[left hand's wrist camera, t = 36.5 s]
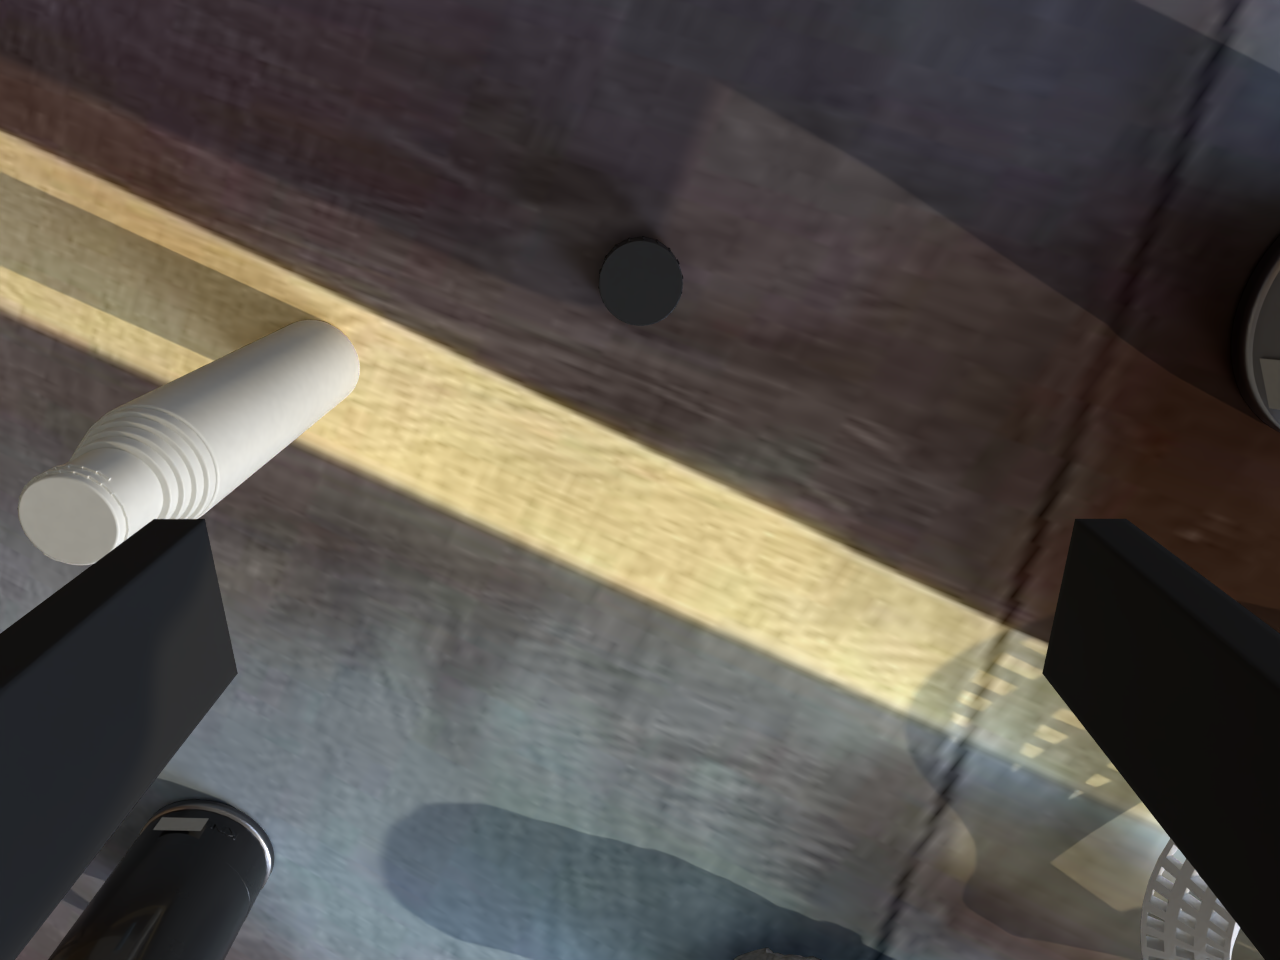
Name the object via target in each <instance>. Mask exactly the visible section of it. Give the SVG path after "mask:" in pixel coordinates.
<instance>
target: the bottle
mask: <svg viewBox="0 0 1280 960" xmlns="http://www.w3.org/2000/svg"><path fill="white" fill-rule="evenodd" d="M359 374H360V364H359V358H358V355H357V352H356V350H355V348H354V346H353V344H352V343H351V341H350V340H349V339H348V337H347V336H346V335H345V334H344V333H343V332H341V331H340V330H339V329H337V328H336V327H334V326H332V325H330V324H328V323H326V322H322V321H318V320H301V321H297V322H295V323H292V324H290V325H288V326H286V327H284V328H282V329H280V330H278V331H275V332H273V333H271V334H269V335H267V336H265V337H263V338H261V339H259V340H257V341H255V342H253V343H251V344H248V345H246V346H244V347H242V348H240V349H238V350H236V351H234V352H232V353H230V354H228V355H226V356H224V357H222V358H219V359H217V360H215V361H213V362H211V363H209V364H207V365H205V366H203V367H201V368H199V369H197V370H195V371H192V372H190V373H188V374H186V375H184V376H182V377H180V378H178V379H176V380H174V381H172V382H170V383H168V384H166V385H163V386H161V387H159V388H157V389H155V390H153V391H151V392H149V393H147V394H145V395H143V396H141V397H139V398H137V399H134V400H132V401H130V402H128V403H126V404H124V405H122V406H120V407H118V408H116V409H114V410H112V411H110V412H108V413H107V414H105V415H104V416H103V417H102V418H101V419H100V420H99V421H97V422H96V423H95V424H93V426H92V427H91V428H90V429H89V430H88V431H87V433H86V435H85V436H84V438H83V439H82V441H81V442H80V444H79V446H78V447H77V449H76V451H75V452H74V454H73V456H72V457H71V459H70V461H69V462H68V463H66V464H64V465H61V466H56V467H54V468H52V469H49V470H47V471H45V472H43V473H42V474H40V475H38V476H36V477H34V478H33V479H32V480H31V481H30V482H29V483H28V484H27V485H25V487H24V489H23V491H22V493H21V495H20V496H19V504H18V508H17V509H18V516H19V520H20V524H21V526H22V529H23V530H24V532H25V534H26V536H27V537H28V538H29V540H30V541H31V542H32V543H33V545H34V546H35V547H36V548H38V549H39V550H40V551H41V552H43V553H44V555H46V556H48V557H50V558H52V559H53V560H55V561H60V562H63V563H67V564H72V565H89V564H94V563H96V562H97V561H98V560H100V559H101V558H102V557H104V556H105V555H106V554H108V553H109V552H110V551H112V550H113V549H114V548H116V547H117V546H118V545H120V544H121V543H122V542H124V541H125V540H126V539H128V538H129V537H130V536H132V535H133V534H134V533H136V532H137V531H139V530H140V529H141V528H143V527H144V526H145V525H147V524H148V523H149V522H151V521H152V520H153V519H198V518H199V517H201V516H202V515H204V514H205V513H206V512H207V511H208V510H210V509H211V508H212V507H213V506H215V505H216V504H217V503H218V502H219V501H221V500H222V499H223V498H224V497H226V496H227V495H228V494H229V493H230V492H232V491H233V490H234V489H235V488H236V487H238V486H239V485H240V484H241V483H243V482H244V481H245V480H246V479H247V478H249V477H250V476H251V475H252V474H253V473H255V472H256V471H257V470H258V469H260V468H261V467H262V466H263V465H264V464H266V463H267V462H268V461H269V460H271V459H272V458H273V457H274V456H275V455H277V454H278V453H279V452H280V451H281V450H283V449H284V448H285V447H286V446H288V445H289V444H290V443H291V442H292V441H294V440H295V439H296V438H297V437H298V436H300V435H301V434H302V433H303V432H305V431H306V430H307V429H308V428H309V427H311V426H312V425H313V424H314V423H316V422H317V421H318V420H319V419H320V418H322V417H323V416H324V415H325V414H326V413H328V412H329V411H330V410H331V409H333V408H334V407H335V406H336V405H337V404H339V403H340V402H341V401H342V400H343V399H345V398H346V397H347V396H348V395H349V394H350V393H351V392H352V391H353V389H354V388H355V386H356V384H357V382H358V379H359Z"/></svg>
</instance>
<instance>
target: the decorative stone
mask: <svg viewBox="0 0 1280 960" xmlns="http://www.w3.org/2000/svg"><path fill="white" fill-rule="evenodd" d="M734 960H821V959H818V958H816V957H813V956H811V957H803V956H801V955H791V954H790V955H782V954H780V953H774V952H773V951H771V950H770V949H769V948H763V949H757V950H754V951H751V952H748V953H745V954H742V955H740V956H737V957H736V958H735V959H734Z"/></svg>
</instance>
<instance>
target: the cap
mask: <svg viewBox="0 0 1280 960" xmlns="http://www.w3.org/2000/svg"><path fill="white" fill-rule="evenodd" d="M599 274H600V277H599V289H600V294H601V297H602V300H603V303H604V304H605V306H606V307H607V309H608V310H609V311H610V312H611V313H612V314H613V315H614V316H615V317H616V318H618V319H619V320H621V321H623V322H625V323H628V324H631V325H637V326H644V325H650V324H654V323H657V322H659V321H661V320H662V319H664V318H665V317H667V316H668V315H669V314H670V313H671V312H672V311H673V310H674V308H675V307H676V305H677V303H678V301H679V299H680V296H681V293H682V284H683V281H682V279H683V275H682V273H681V270H680V267H679V261H678V259H677V260H676V258H675V256H674V255H673V253H672V252H671V250H670V248H667V247H666V246H665V245H664V244H662V243H660V242H658V240H654V239H651V238H645V237H644V236H642V237H637V238H631V239H630V238H628V240H625V241H623V242H621V243H619V244H618V245H617V244H616V245H615V247H614V248H613V249H612V250H611V251H610V253H609V254H608V255H606V257H605V261H604V263H603V266H602V269H600V272H599Z"/></svg>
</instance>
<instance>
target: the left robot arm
mask: <svg viewBox="0 0 1280 960" xmlns="http://www.w3.org/2000/svg"><path fill="white" fill-rule="evenodd" d="M1231 360H1232V366H1233V372H1234V376H1235V379H1236V383H1237V385H1238V388H1239V390H1240V393H1241V395H1242V396H1243V398H1244V400H1245V402H1246V403H1247V405H1248V406H1249V407H1250V408H1251V410H1252V411H1253V412H1254V413H1255V414H1256V415H1257V416H1258V417H1259V418H1260V419H1261V420H1262V421H1263V422H1264V423H1266V424H1267V425H1268V426H1270V427H1271V428H1273V429H1275V430H1276V431H1278V432H1280V236H1279V237H1278V238H1277V239H1276V240H1275V242H1274V243H1273V244H1272V245H1271V247H1270V248H1269V249H1268V250H1267V252H1266V253H1265V254H1264V256H1263V257H1262V259H1261V260H1260V262H1259V263H1258V265H1257V266H1256V268H1255V270H1254V272H1253V273H1252V275H1251V277H1250V279H1249V280H1248V283H1247V285H1246V287H1245V289H1244V291H1243V294H1242V296H1241V299H1240V302H1239V305H1238V307H1237V311H1236V315H1235V319H1234V323H1233V330H1232V338H1231ZM236 675H237V669H236V664H235V659H234V654H233V650H232V645H231V640H230V636H229V631H228V626H227V622H226V617H225V612H224V607H223V603H222V598H221V593H220V589H219V584H218V579H217V575H216V570H215V565H214V560H213V556H212V551H211V546H210V542H209V537H208V532H207V528H206V523H205V519H153V520H152V521H151V522H149V523H148V524H147V525H145V526H144V527H143V528H141V529H140V530H139V531H137V532H136V533H134V534H133V535H132V536H130V537H129V538H128V539H126V540H125V541H124V542H122V543H121V544H120V545H118V546H117V547H116V548H114V549H113V550H112V551H110V552H109V553H108V554H106V555H105V556H104V557H102V558H101V559H100V560H98V561H97V562H96V563H94V564H93V565H92V566H90V567H89V568H88V569H86V570H85V571H84V572H82V573H81V574H80V575H78V576H77V577H76V578H74V579H73V580H72V581H70V582H69V583H68V584H66V585H65V586H64V587H62V588H61V589H60V590H58V591H57V592H56V593H54V594H53V595H52V596H50V597H49V598H48V599H46V600H45V601H44V602H42V603H41V604H39V605H38V606H37V607H35V608H34V609H33V610H31V611H30V612H29V613H27V614H26V615H25V616H23V617H22V618H21V619H19V620H18V621H17V622H15V623H14V624H13V625H11V626H10V627H9V628H7V629H6V630H5V631H3V632H2V633H1V634H0V960H15V959H16V958H17V956H18V955H19V954H20V952H21V951H22V950H23V949H24V947H25V946H26V945H27V943H28V942H29V941H30V940H31V938H32V937H33V936H34V934H35V933H36V932H37V931H38V929H39V928H40V927H41V925H42V924H43V923H44V922H45V920H46V919H47V918H48V916H49V915H50V914H51V913H52V911H53V910H54V909H55V907H56V906H57V905H58V904H59V902H60V901H61V900H62V898H63V897H64V896H65V895H66V893H67V892H68V891H69V889H70V888H71V887H72V886H73V884H74V883H75V882H76V880H77V879H78V878H79V877H80V875H81V874H82V873H83V871H84V870H85V869H86V868H87V866H88V865H89V864H90V862H91V861H92V860H93V859H94V857H95V856H96V855H97V853H98V852H99V851H100V850H101V848H102V847H103V846H104V844H105V843H106V842H107V841H108V839H109V838H110V837H111V835H112V834H113V833H114V832H115V830H116V829H117V828H118V826H119V825H120V824H121V823H122V821H123V820H124V819H125V817H126V816H127V815H128V814H129V812H130V811H131V810H132V808H133V807H134V806H135V805H136V803H137V802H138V801H139V799H140V798H141V797H142V796H143V794H144V793H145V792H146V790H147V789H148V788H149V787H150V785H151V784H152V783H153V781H154V780H155V779H156V778H157V776H158V775H159V774H160V772H161V771H162V770H163V769H164V767H165V766H166V765H167V763H168V762H169V761H170V760H171V758H172V757H173V756H174V754H175V753H176V752H177V751H178V749H179V748H180V747H181V745H182V744H183V743H184V742H185V740H186V739H187V738H188V736H189V735H190V734H191V733H192V731H193V730H194V729H195V727H196V726H197V725H198V724H199V722H200V721H201V720H202V718H203V717H204V716H205V715H206V713H207V712H208V711H209V709H210V708H211V707H212V706H213V704H214V703H215V702H216V700H217V699H218V698H219V697H220V695H221V694H222V693H223V691H224V690H225V689H226V688H227V686H228V685H229V684H230V682H231V681H232V680H233V679H234V677H235V676H236ZM1043 675H1044V676H1045V677H1046V679H1047V680H1048V681H1049V682H1050V684H1051V685H1052V686H1053V688H1054V689H1055V690H1056V691H1057V693H1058V694H1059V695H1060V697H1061V698H1062V699H1063V700H1064V702H1065V703H1066V704H1067V706H1068V707H1069V708H1070V709H1071V711H1072V712H1073V713H1074V715H1075V716H1076V717H1077V718H1078V720H1079V721H1080V722H1081V724H1082V725H1083V726H1084V727H1085V729H1086V730H1087V731H1088V733H1089V734H1090V735H1091V736H1092V738H1093V739H1094V740H1095V742H1096V743H1097V744H1098V745H1099V747H1100V748H1101V749H1102V751H1103V752H1104V753H1105V754H1106V756H1107V757H1108V758H1109V760H1110V761H1111V762H1112V763H1113V765H1114V766H1115V767H1116V769H1117V770H1118V771H1119V772H1120V774H1121V775H1122V776H1123V778H1124V779H1125V780H1126V781H1127V783H1128V784H1129V785H1130V787H1131V788H1132V789H1133V790H1134V792H1135V793H1136V794H1137V796H1138V797H1139V798H1140V799H1141V801H1142V802H1143V803H1144V805H1145V806H1146V807H1147V808H1148V810H1149V811H1150V812H1151V814H1152V815H1153V816H1154V817H1155V819H1156V820H1157V821H1158V823H1159V824H1160V825H1161V826H1162V828H1163V829H1164V830H1165V832H1166V833H1167V834H1168V835H1169V837H1170V838H1171V839H1172V841H1173V842H1174V843H1175V844H1176V846H1177V847H1178V848H1179V850H1180V851H1181V852H1182V853H1183V855H1184V856H1185V857H1186V859H1187V860H1188V861H1189V862H1190V864H1191V865H1192V866H1193V868H1194V869H1195V870H1196V871H1197V873H1198V874H1199V875H1200V877H1201V878H1202V879H1203V880H1204V882H1205V883H1206V884H1207V886H1208V887H1209V888H1210V889H1211V891H1212V892H1213V893H1214V895H1215V896H1216V897H1217V898H1218V900H1219V901H1220V902H1221V904H1222V905H1223V906H1224V907H1225V909H1226V910H1227V911H1228V913H1229V914H1230V915H1231V916H1232V918H1233V919H1234V920H1235V922H1236V923H1237V924H1238V925H1239V927H1240V928H1241V929H1242V931H1243V932H1244V933H1245V934H1246V936H1247V937H1248V938H1249V940H1250V941H1251V942H1252V943H1253V945H1254V946H1255V947H1256V949H1257V950H1258V951H1259V952H1260V954H1261V955H1262V956H1263V958H1264V959H1265V960H1280V634H1279V633H1278V632H1277V631H1275V630H1274V629H1273V628H1271V627H1270V626H1269V625H1267V624H1266V623H1265V622H1263V621H1262V620H1261V619H1259V618H1258V617H1257V616H1255V615H1254V614H1253V613H1251V612H1250V611H1249V610H1247V609H1246V608H1245V607H1243V606H1242V605H1241V604H1239V603H1238V602H1236V601H1235V600H1234V599H1232V598H1231V597H1230V596H1228V595H1227V594H1226V593H1224V592H1223V591H1222V590H1220V589H1219V588H1218V587H1216V586H1215V585H1214V584H1212V583H1211V582H1210V581H1208V580H1207V579H1206V578H1204V577H1203V576H1202V575H1200V574H1199V573H1198V572H1196V571H1195V570H1194V569H1192V568H1191V567H1190V566H1188V565H1187V564H1186V563H1184V562H1183V561H1182V560H1180V559H1179V558H1178V557H1176V556H1175V555H1174V554H1172V553H1171V552H1170V551H1168V550H1167V549H1166V548H1164V547H1163V546H1162V545H1160V544H1159V543H1158V542H1156V541H1155V540H1154V539H1152V538H1151V537H1150V536H1148V535H1147V534H1146V533H1144V532H1143V531H1141V530H1140V529H1139V528H1137V527H1136V526H1135V525H1133V524H1132V523H1131V522H1129V521H1128V520H1127V519H1075V523H1074V528H1073V532H1072V537H1071V542H1070V546H1069V551H1068V556H1067V560H1066V565H1065V570H1064V575H1063V579H1062V584H1061V589H1060V593H1059V598H1058V603H1057V607H1056V612H1055V617H1054V622H1053V626H1052V631H1051V636H1050V640H1049V645H1048V650H1047V654H1046V659H1045V664H1044V669H1043Z"/></svg>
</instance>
